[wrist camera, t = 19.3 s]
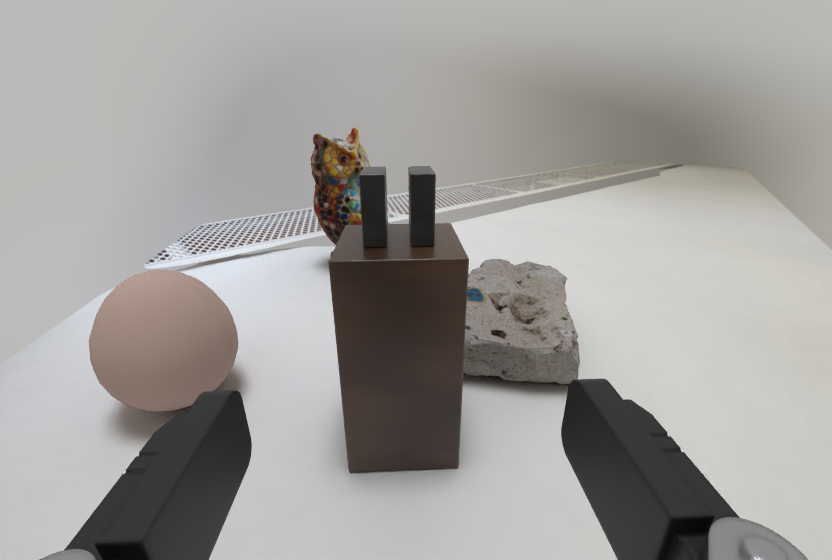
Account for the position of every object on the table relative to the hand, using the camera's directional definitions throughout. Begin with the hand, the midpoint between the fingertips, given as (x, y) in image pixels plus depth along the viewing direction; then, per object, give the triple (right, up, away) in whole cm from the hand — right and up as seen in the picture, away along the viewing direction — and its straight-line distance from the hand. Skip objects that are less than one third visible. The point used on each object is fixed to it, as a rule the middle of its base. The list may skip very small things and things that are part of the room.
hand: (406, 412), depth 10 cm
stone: (+7, -2, +21) cm, 22 cm away
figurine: (-6, +5, +37) cm, 38 cm away
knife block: (-1, -5, +12) cm, 13 cm away
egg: (-14, -4, +15) cm, 21 cm away
